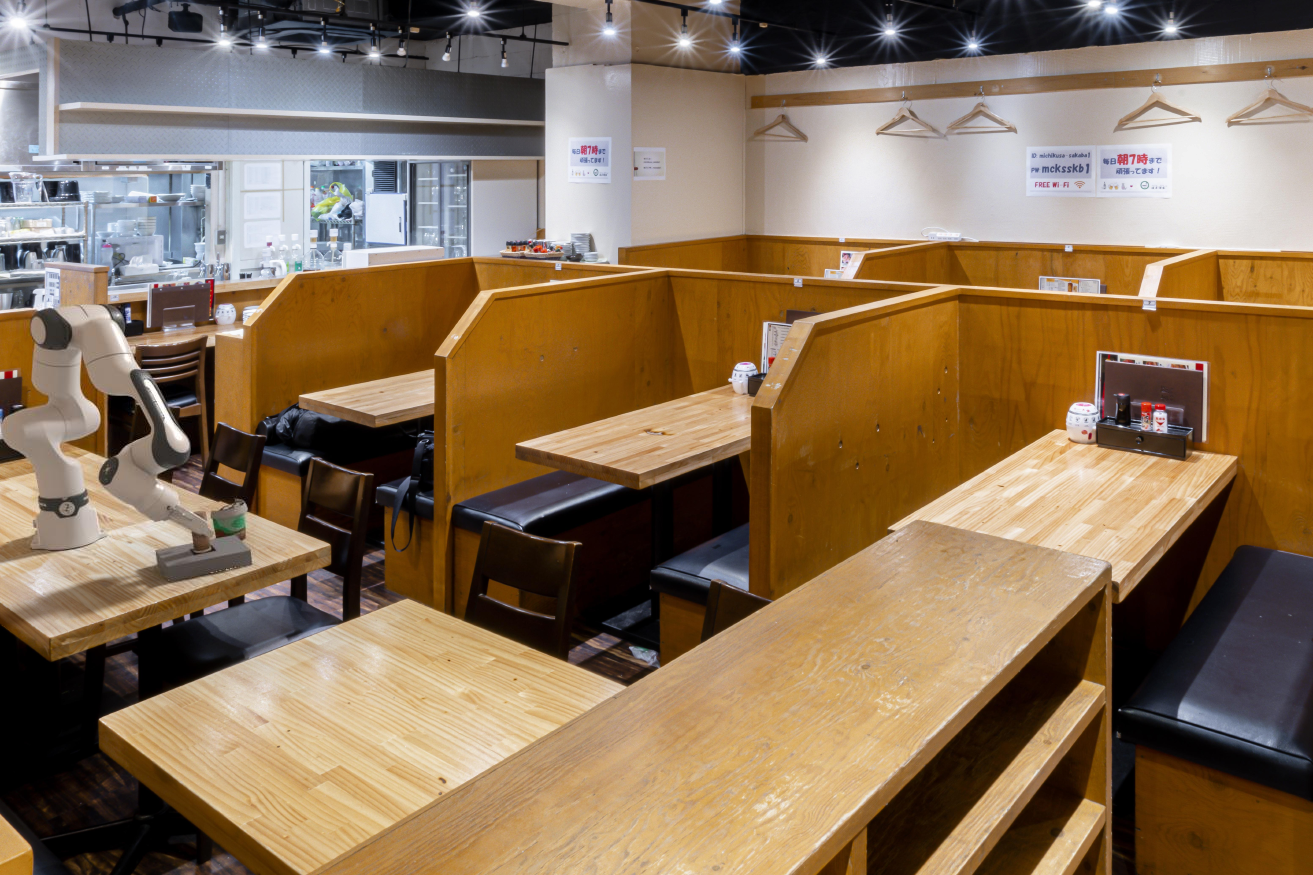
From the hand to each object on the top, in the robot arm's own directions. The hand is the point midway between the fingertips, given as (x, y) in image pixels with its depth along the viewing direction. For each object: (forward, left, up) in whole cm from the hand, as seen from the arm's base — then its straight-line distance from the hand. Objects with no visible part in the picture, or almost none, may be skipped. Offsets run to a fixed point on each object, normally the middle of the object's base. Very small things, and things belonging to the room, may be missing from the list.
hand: (203, 530), depth 272 cm
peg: (0, -1, -9) cm, 9 cm away
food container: (-15, +11, -9) cm, 21 cm away
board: (0, -1, -9) cm, 9 cm away
